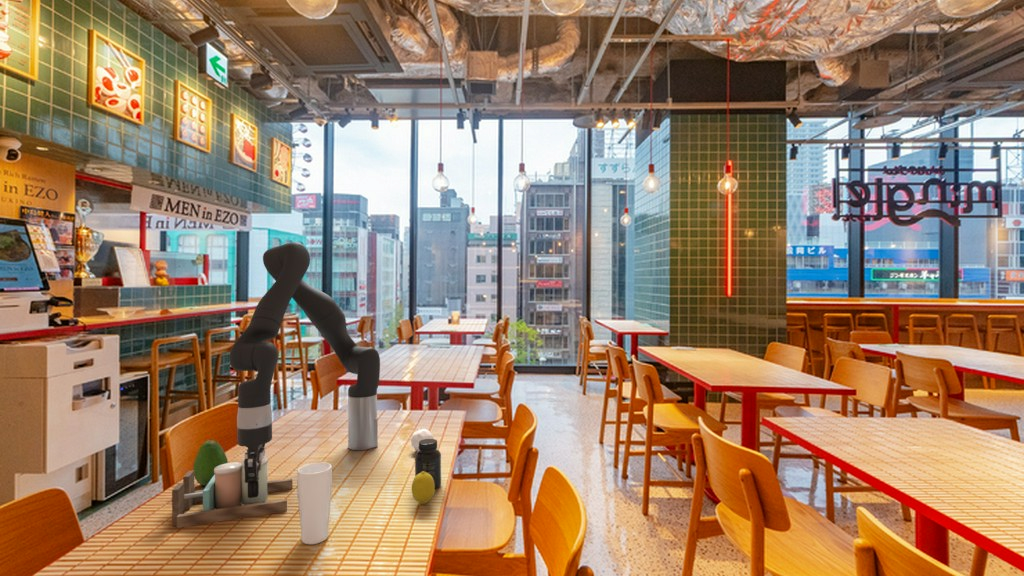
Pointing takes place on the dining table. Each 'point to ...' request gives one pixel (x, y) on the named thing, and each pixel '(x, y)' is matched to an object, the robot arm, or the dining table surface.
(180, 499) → the lane
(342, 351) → the robot arm
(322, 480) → the drinking glass
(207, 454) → the fruit
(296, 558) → the dining table surface
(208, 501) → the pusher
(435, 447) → the supplement bottle
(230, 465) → the jar
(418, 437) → the ornament
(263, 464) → the sage jar
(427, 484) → the lemon
